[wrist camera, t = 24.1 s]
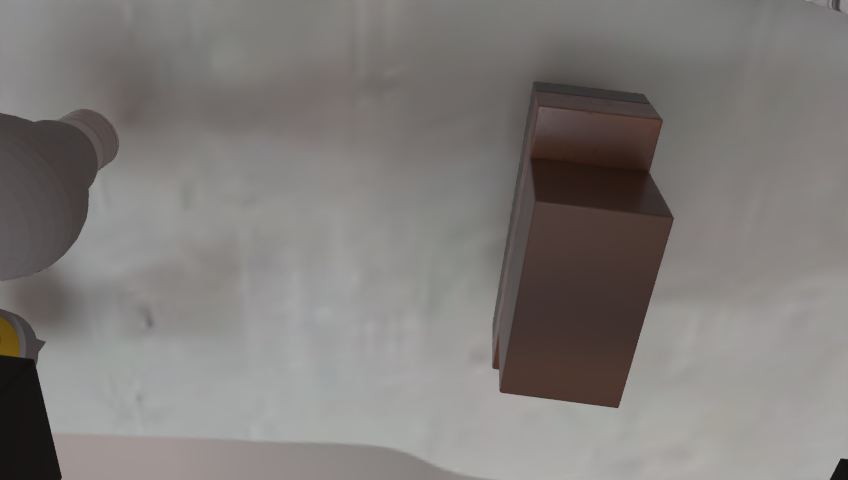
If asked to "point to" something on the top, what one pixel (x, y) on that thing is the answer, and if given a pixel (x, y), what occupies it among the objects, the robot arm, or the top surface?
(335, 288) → the top surface
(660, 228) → the brown stepped block
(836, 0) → the ink box
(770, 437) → the top surface
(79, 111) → the light bulb
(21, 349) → the drill bit
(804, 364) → the top surface
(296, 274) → the top surface
